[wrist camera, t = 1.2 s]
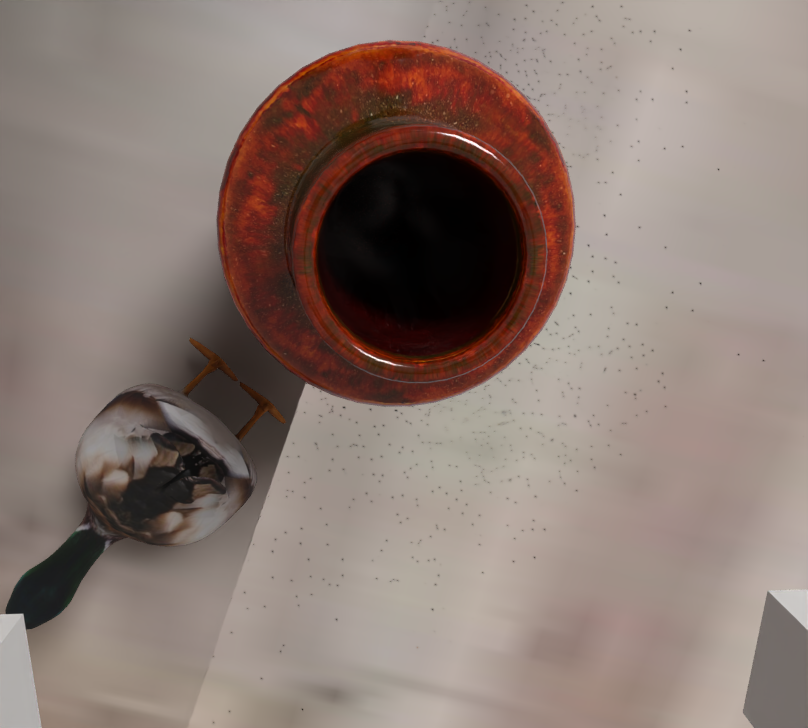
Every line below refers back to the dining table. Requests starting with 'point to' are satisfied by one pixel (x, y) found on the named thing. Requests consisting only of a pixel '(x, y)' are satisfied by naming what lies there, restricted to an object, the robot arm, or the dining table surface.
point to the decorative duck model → (146, 484)
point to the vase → (396, 223)
